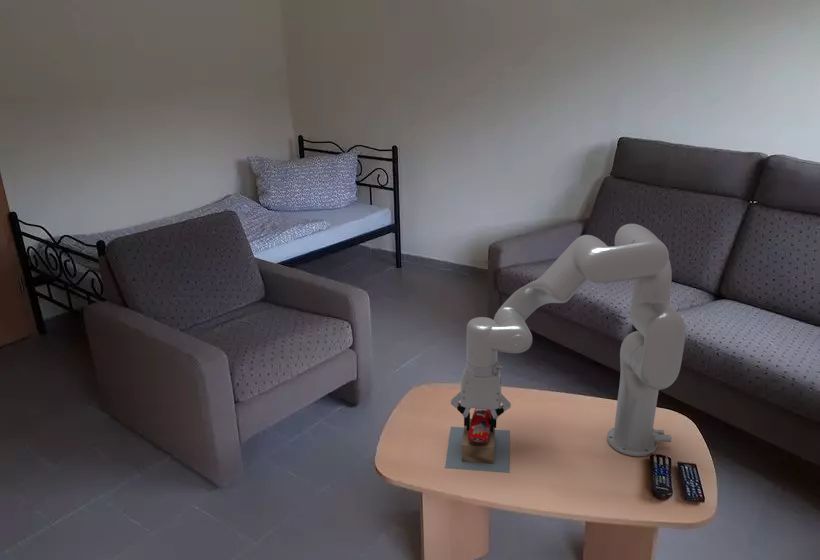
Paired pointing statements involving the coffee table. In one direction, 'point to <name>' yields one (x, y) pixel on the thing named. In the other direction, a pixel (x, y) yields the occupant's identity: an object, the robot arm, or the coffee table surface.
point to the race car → (480, 426)
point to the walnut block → (478, 449)
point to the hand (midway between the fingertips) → (480, 427)
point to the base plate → (499, 463)
